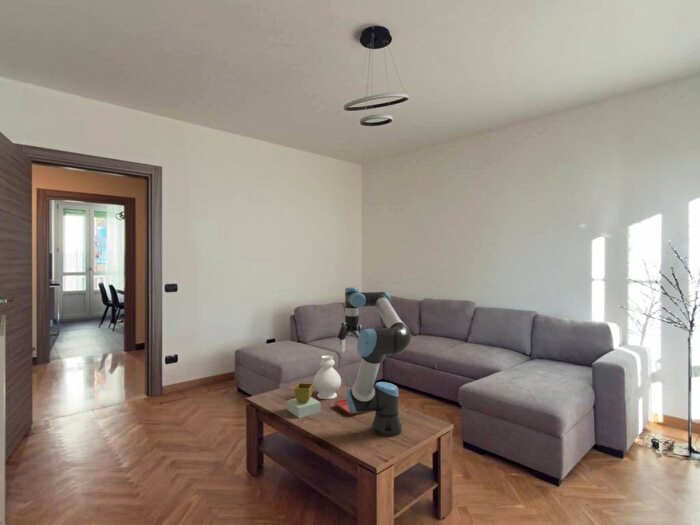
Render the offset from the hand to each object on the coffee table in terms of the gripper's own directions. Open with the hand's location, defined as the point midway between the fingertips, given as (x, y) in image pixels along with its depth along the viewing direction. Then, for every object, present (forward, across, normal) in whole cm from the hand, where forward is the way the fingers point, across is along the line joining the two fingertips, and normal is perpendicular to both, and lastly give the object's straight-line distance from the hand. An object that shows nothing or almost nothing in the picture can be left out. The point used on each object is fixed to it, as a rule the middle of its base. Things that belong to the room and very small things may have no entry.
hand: (351, 353), depth 212 cm
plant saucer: (+35, +6, -8) cm, 37 cm away
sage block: (+35, +24, +15) cm, 45 cm away
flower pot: (+29, +24, +15) cm, 41 cm away
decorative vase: (+35, +33, -11) cm, 49 cm away
